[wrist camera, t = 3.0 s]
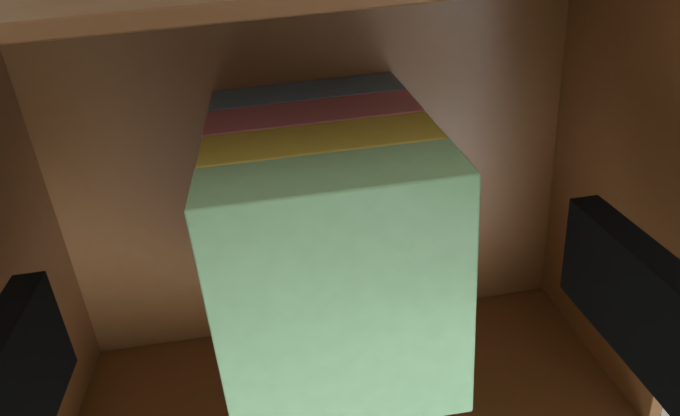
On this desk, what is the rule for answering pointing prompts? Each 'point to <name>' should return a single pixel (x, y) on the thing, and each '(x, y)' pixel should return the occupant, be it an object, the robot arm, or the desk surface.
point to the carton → (314, 64)
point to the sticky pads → (336, 250)
